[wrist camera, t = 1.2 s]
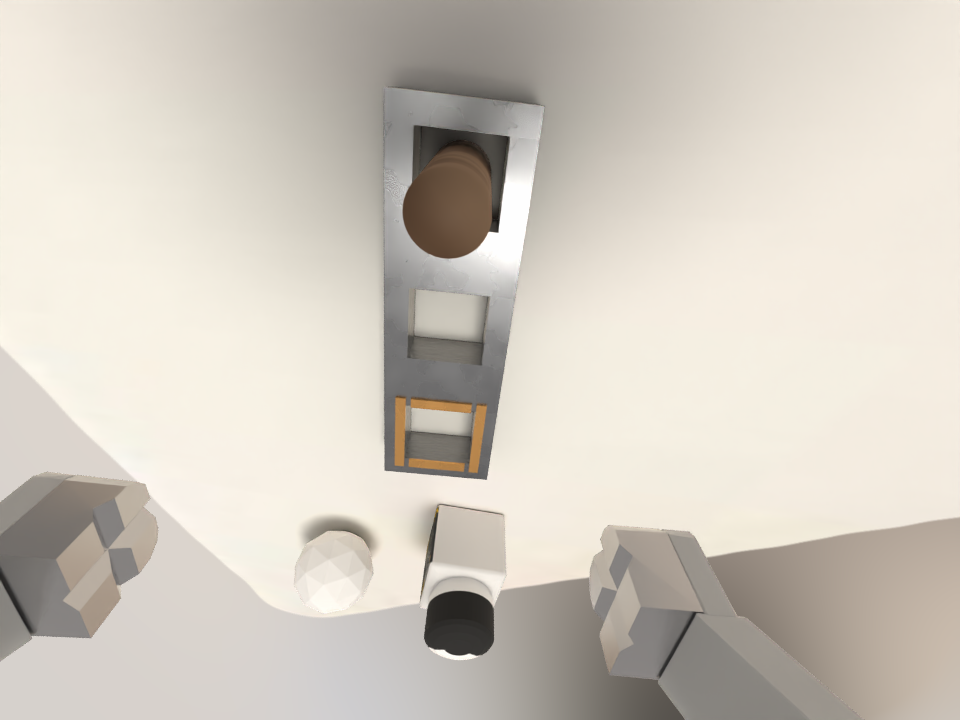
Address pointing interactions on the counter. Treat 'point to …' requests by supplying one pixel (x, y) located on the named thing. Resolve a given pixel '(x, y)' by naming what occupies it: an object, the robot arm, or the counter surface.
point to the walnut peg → (450, 202)
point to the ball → (333, 571)
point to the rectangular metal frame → (450, 284)
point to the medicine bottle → (463, 581)
